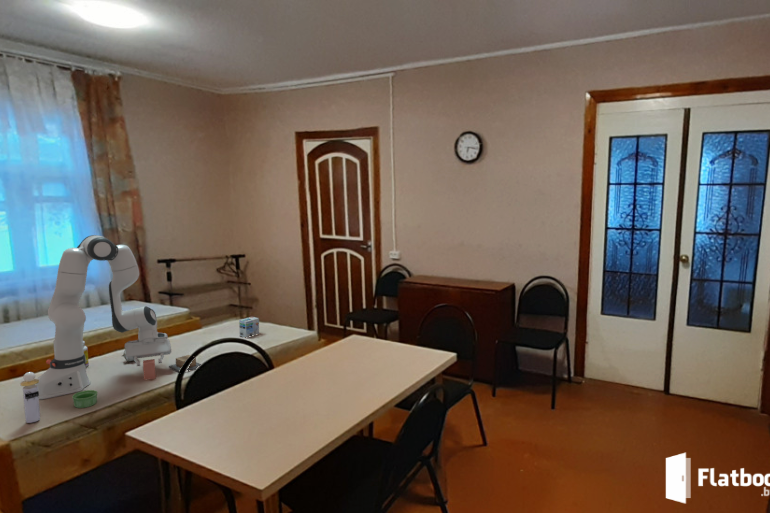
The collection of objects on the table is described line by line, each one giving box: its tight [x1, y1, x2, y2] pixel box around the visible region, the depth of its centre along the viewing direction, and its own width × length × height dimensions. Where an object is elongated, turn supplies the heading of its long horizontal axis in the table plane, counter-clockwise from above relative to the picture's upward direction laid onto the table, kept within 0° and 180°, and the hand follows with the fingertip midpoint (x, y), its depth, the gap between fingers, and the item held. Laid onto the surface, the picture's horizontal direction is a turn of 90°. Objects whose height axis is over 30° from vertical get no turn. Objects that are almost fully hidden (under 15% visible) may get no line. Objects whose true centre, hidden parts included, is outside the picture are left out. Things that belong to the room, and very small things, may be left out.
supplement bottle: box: [83, 340, 89, 368], centre depth 242 cm, size 7×7×13 cm
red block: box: [142, 358, 156, 381], centre depth 229 cm, size 5×5×8 cm
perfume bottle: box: [19, 371, 41, 424], centre depth 183 cm, size 6×6×20 cm
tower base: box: [168, 354, 202, 373], centre depth 243 cm, size 12×12×5 cm
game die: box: [121, 348, 139, 364], centre depth 251 cm, size 9×8×10 cm
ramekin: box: [71, 389, 99, 409], centre depth 200 cm, size 9×9×4 cm
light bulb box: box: [238, 316, 260, 338], centre depth 298 cm, size 11×7×11 cm, turn 147°
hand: (149, 364), depth 231 cm, fingers open, 8 cm apart
